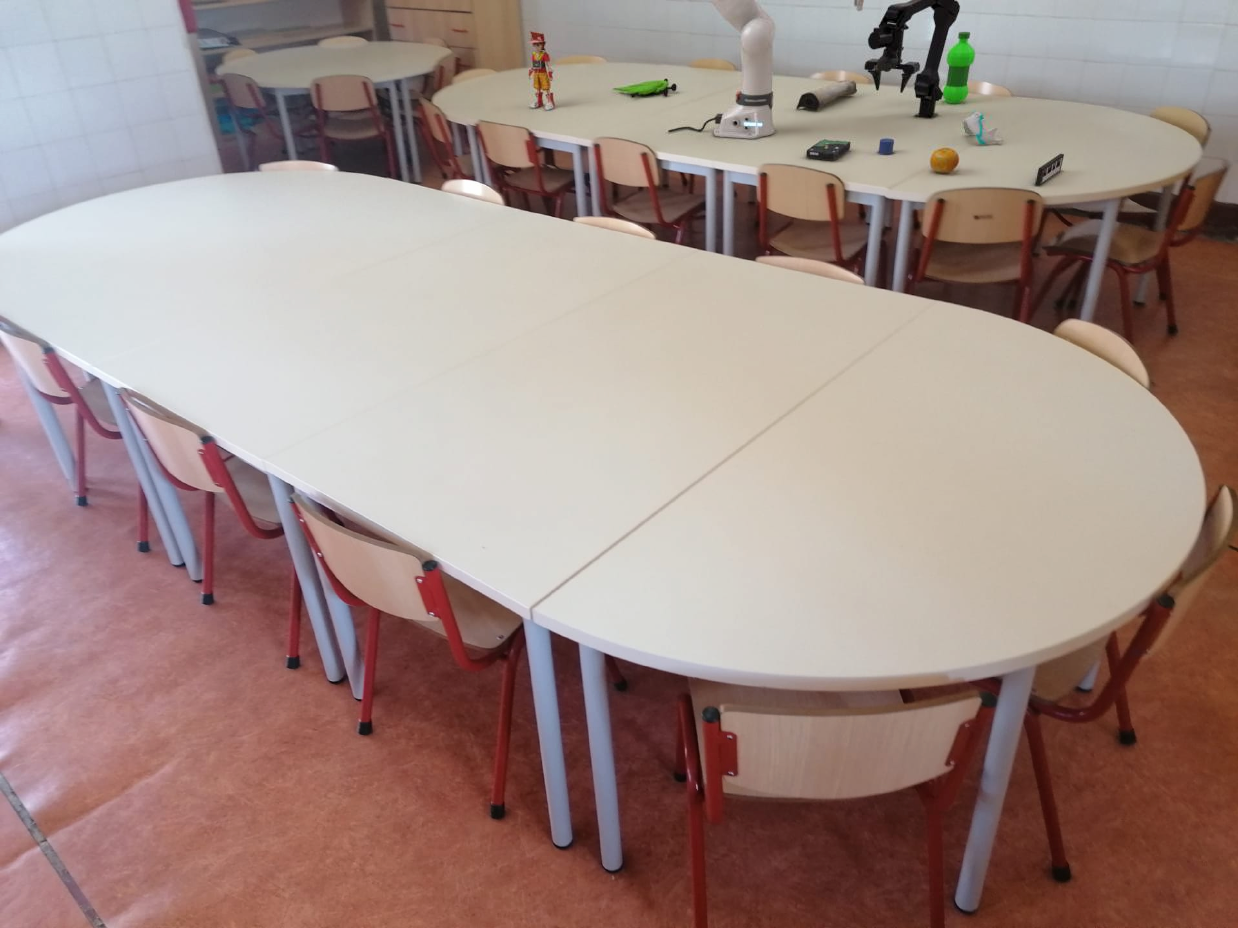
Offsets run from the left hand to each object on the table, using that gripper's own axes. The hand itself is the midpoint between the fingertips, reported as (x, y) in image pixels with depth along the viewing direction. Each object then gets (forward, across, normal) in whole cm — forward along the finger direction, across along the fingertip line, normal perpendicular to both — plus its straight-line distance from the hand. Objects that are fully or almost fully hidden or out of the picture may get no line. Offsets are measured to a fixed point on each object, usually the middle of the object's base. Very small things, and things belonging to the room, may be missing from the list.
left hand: (858, 8), depth 300 cm
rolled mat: (+42, -50, -4) cm, 65 cm away
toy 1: (+41, -53, -123) cm, 140 cm away
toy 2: (+41, -77, -84) cm, 121 cm away
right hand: (+30, -12, +15) cm, 35 cm away
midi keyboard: (+42, +51, +56) cm, 87 cm away
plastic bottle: (+42, -46, +45) cm, 77 cm away
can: (+42, +21, +11) cm, 48 cm away
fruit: (+42, +43, +26) cm, 66 cm away
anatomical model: (+42, +8, +44) cm, 61 cm away
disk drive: (+42, +22, -8) cm, 48 cm away
